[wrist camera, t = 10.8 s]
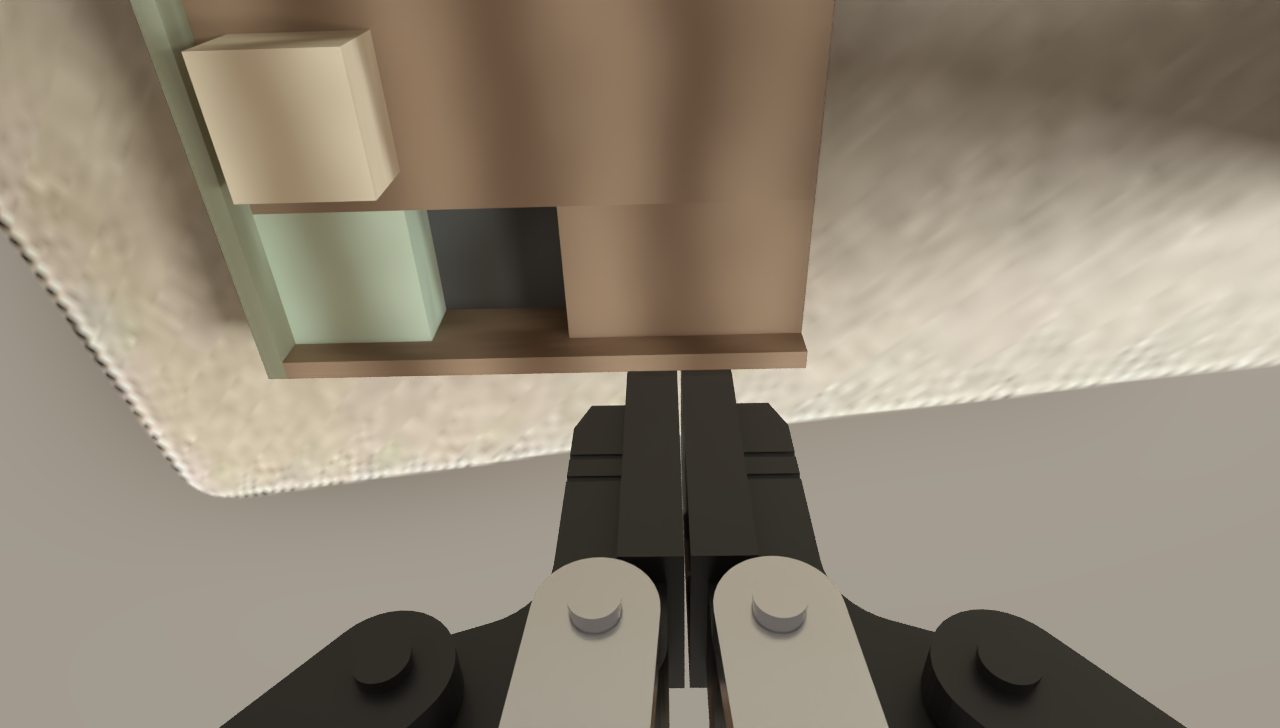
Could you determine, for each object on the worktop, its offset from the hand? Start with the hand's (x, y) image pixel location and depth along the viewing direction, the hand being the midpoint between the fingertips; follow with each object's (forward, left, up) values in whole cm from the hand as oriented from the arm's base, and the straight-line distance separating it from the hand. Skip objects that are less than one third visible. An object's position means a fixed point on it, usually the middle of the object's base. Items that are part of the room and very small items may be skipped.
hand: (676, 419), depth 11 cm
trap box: (+5, 0, -22) cm, 22 cm away
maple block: (+12, 0, -19) cm, 23 cm away
